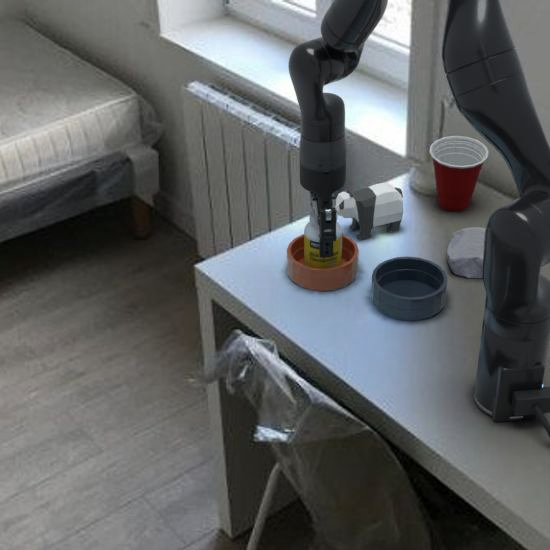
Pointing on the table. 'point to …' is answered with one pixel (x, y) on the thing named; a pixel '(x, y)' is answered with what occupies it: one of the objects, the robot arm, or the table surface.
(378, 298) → the metal bowl
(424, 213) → the table surface
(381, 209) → the giant panda
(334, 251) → the pill bottle
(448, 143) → the plastic cup
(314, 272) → the terracotta bowl
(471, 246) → the stone block
